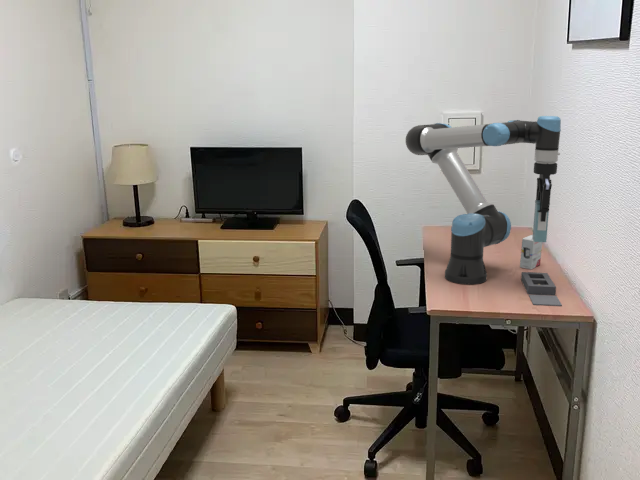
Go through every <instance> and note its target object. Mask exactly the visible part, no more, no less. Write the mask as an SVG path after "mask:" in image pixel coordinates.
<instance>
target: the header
mask: <svg viewBox="0 0 640 480" xmlns="http://www.w3.org/2000/svg"><path fill="white" fill-rule="evenodd" d="M520 275H521V276H520V281H521V282H522V285H523V287H524V289H525V291H526V293H527V295H550V296H556V291H557V286H556V285H555V283H554V281H553V280H552V278H551V277H550V275H549V274H548V272H535V271H533V272H531V271H530V272H529V271H521V273H520Z"/></svg>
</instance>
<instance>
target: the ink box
mask: <svg viewBox="0 0 640 480" xmlns="http://www.w3.org/2000/svg"><path fill="white" fill-rule="evenodd" d="M532 238H533V234H530V235H528V236H525V237H523V238H522V240H521V250H520V251H521V252H520V259H519V260H520V262H519V268H523V269H527V270H533V269H535V268H537V267H538V266H539V265H541V259H542V251H543V249H542V248H543V242H534V241H533V239H532Z"/></svg>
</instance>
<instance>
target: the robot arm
mask: <svg viewBox="0 0 640 480" xmlns="http://www.w3.org/2000/svg"><path fill="white" fill-rule="evenodd" d="M561 120H562V119H561V117H560V116H556V115H541V116H538V118H537V120H536V121H532V120H531V121H530V120H528V121H527V120H520V119H516V120H509V121H507V122H493V123H485V124H475V125H472V124H471V125H465V126H453V127H452V126H451V125H450V124H447V123H443V122H442V123H441V122H439V123H438V122H437V123H433V124H419V125H415V126H413V127H412V128H411V129H409V130H408V132H407V133H406V136H405V145H406V147H407V150H408V151H409V152H411V153H412V154H414V155H417V156H428V158H429V159H430V161H431V163H433V164H436V165H438V166H439V169H440V170H441V173H442V174H443V175H444V177H445V179H446V180H447V182H448V183H449V186H450V187H451V189H452V190H453V192H454V193H455V195H456V197H457V198H458V201H459V202H460V204H461V205H462V207H463V209H464V210H465V212H466V213H462V214H459V215H457V216H455V217H454V218H453V220H452V224H451V229H450V230H451V231H450V232H451V236H450V237H451V239H450V257H449V260H448V263H447V265H446V269H445V271H444V278H445V280H446V281H448V282H451V283H455V284H460V285H479V284H482V283H485V282H486V281H487V280H488V279H487V276H488V274H487V269H486V266H485V263H484V262H485V261H484V248H486V247H490V246H494V245H498V244H500V243H502V242H504V241H506V239H508V238H509V236H510V234H511V229H512V222H511V219H510V218H509V216H508V215H507V214H506V213H505V212H502V211H499V210H498V209H497V208H496V205H495V204H493V203H489V202H488V201H487V200H486V198H485V196H484V194H483V193H482V190H481V189H480V187H479V185H477V183H476V181H475V179H474V178H473V177H472V174H471V173H470V171H469V170H468V168H467V167H466V165H465V163H464V162H463V160H462V158H461V157H460V155H459V154H458V149H462V148H464V149H465V148H466V149H467V148H476V147H477V148H478V147H479V148H480V147H500V146H505V145H506V146H507V145H515V144H533V145H534V144H535V148H534V159H533V160H534V161H535V162H534V163H533V173H534V174H536V175H538V176H539V177H537V179H536V193H535V194H536V196H535V200H540V210H538V212H539V216H538V228H537V230H544V231H546V222H547V212H549V213H550V205H551V192H552V186H553V184H552V179H551V177H550V176H552V175H556V174H557V172H558V163H557V162H558V160H559V159H558V158H559V156H560V155H561V153H560V152H559V147H560V137H561V132H562V129H561ZM549 204H550V205H549Z"/></svg>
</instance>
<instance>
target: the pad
mask: <svg viewBox="0 0 640 480" xmlns="http://www.w3.org/2000/svg"><path fill="white" fill-rule="evenodd" d="M528 297H529V299H530V301H531V303H532V305H533V306H545V307H546V306H547V307H548V306H550V307H562V306H563V304H562V302H561V301H560V299H559V297H558V296H557V295H534V294H528Z"/></svg>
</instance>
